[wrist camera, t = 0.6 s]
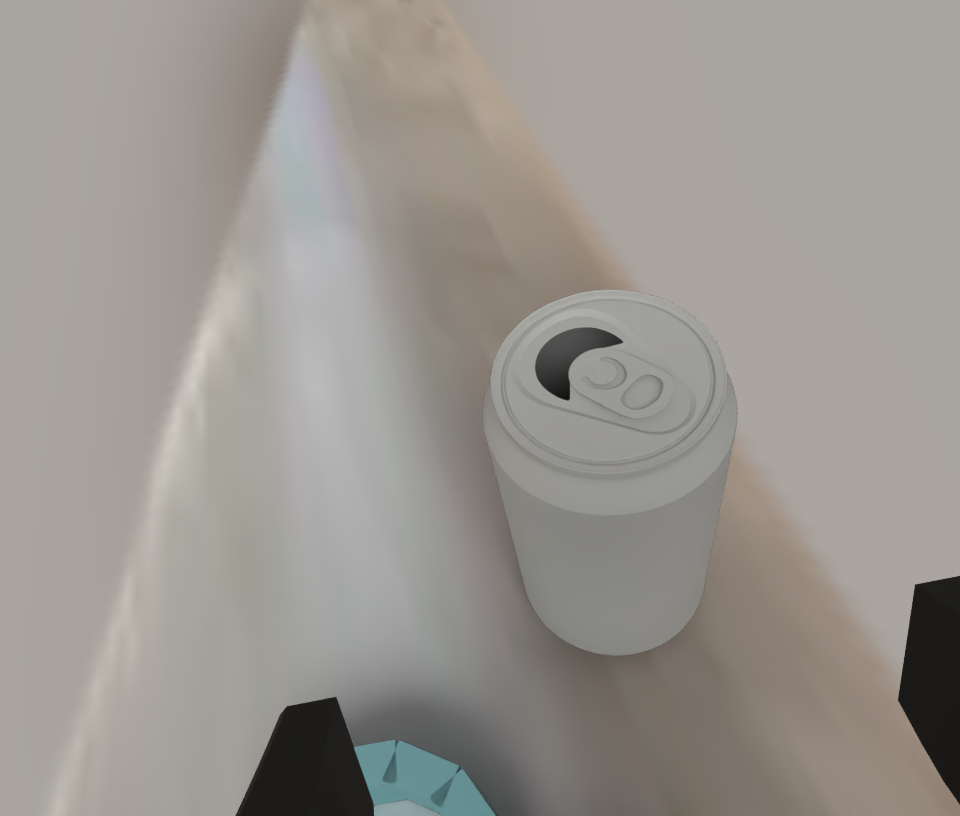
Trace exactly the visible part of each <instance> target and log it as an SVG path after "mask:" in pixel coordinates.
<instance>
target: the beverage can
mask: <svg viewBox="0 0 960 816" xmlns="http://www.w3.org/2000/svg"><path fill="white" fill-rule="evenodd" d="M483 425H484V431H485V435H486V439H487V443H488V447H489V451H490V455H491V458H492V462H493V466H494V470H495V474H496V478H497V482H498V485H499V489H500V493H501V497H502V501H503V505H504V509H505V513H506V516H507V520H508V524H509V528H510V532H511V536H512V540H513V543H514V547H515V551H516V555H517V559H518V563H519V567H520V571H521V574H522V578H523V582H524V586H525V590H526V593H527V596H528V599H529V601H530V603H531V605H532V607H533V609H534V611H535V612H536V614H537V615H538V617H539V618H540V619H541V620H542V622H543V623H544V624H545V625H546V626H547V627H548V628H549V629H550V630H551V631H552V632H553V633H554V634H555V635H557V636H558V637H560V638H561V639H563V640H564V641H566V642H568V643H569V644H571V645H573V646H575V647H578V648H580V649H583V650H585V651H589V652H592V653H597V654H602V655H617V656H620V655H631V654H637V653H641V652H644V651H647V650H650V649H653V648H655V647H657V646H660V645H661V644H663V643H665V642H667V641H668V640H670V639H671V638H672V637H674V636H675V635H676V634H678V633H679V632H680V631H681V630H682V629H683V628H684V627H685V625H686V624H687V623H688V622H689V621H690V619H691V618H692V616H693V614H694V613H695V611H696V609H697V607H698V605H699V603H700V600H701V597H702V594H703V590H704V585H705V580H706V575H707V570H708V565H709V560H710V555H711V550H712V545H713V540H714V535H715V531H716V526H717V521H718V516H719V511H720V506H721V501H722V496H723V491H724V486H725V481H726V476H727V471H728V466H729V461H730V456H731V451H732V446H733V441H734V437H735V432H736V425H737V400H736V395H735V391H734V387H733V384H732V382H731V379H730V377H729V375H728V373H727V371H726V366H725V362H724V358H723V355H722V353H721V350H720V348H719V346H718V344H717V342H716V341H715V339H714V337H713V336H712V335H711V333H710V332H709V331H708V330H707V329H706V327H705V326H704V325H703V324H702V323H701V322H700V321H699V320H697V319H696V318H695V317H694V316H693V315H691V314H690V313H689V312H687V311H686V310H684V309H682V308H680V307H679V306H677V305H675V304H673V303H671V302H669V301H667V300H664V299H662V298H659V297H656V296H653V295H649V294H645V293H640V292H635V291H627V290H595V291H588V292H582V293H577V294H574V295H570V296H567V297H564V298H562V299H559V300H556V301H553V302H551V303H549V304H547V305H545V306H543V307H541V308H539V309H538V310H536V311H534V312H533V313H531V314H530V315H528V316H527V317H526V318H525V319H523V320H522V321H521V322H520V323H519V324H518V325H517V326H516V327H515V328H514V329H513V330H512V331H511V332H510V334H509V335H508V336H507V337H506V339H505V340H504V342H503V343H502V345H501V347H500V348H499V350H498V352H497V355H496V357H495V360H494V363H493V367H492V373H491V380H490V382H489V385H488V388H487V391H486V394H485V399H484V406H483Z"/></svg>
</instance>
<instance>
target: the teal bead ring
mask: <svg viewBox="0 0 960 816" xmlns="http://www.w3.org/2000/svg"><path fill="white" fill-rule="evenodd" d="M354 749H355V752H356V755H357V758H358V761H359V763H360V766H361V769H362V772H363V775H364V778H365V780H366V783H367V786H368V789H369V792H370V795H371V798H372V800H373V804H374V805H378V804H384V803H390V802H396V801H401V800H407V799H409V800H411V801H413V802H415V803H417V804H420V805H422V806H424V807H426V808H428V809H431V810H433V811H435V812H437V813H439V814H441V815H442V816H497V815H496V814H495V812H494V811H493V809H492V808H491V807H490V805H489V804H488V802H487V801H486V799H485V798H484V797H483V795H482V794H481V792H480V791H479V789H478V788H477V786H476V785H475V784H474V783H473V781H472V780H471V779H470V778H469V776H468V775H467V774H466V772H465V771H464V770H463V769H461V768H460V766H459V765H456V764H454V763H452V762H449V761H447V760H445V759H442V758H440V757H438V756H435V755H433V754H431V753H428V752H426V751H424V750H421V749H419V748H417V747H414V746H412V745H410V744H407V743H405V742H403V741H400V740H399V742H397V741H396V740H389V741H384V742H378V743H372V744H367V745H361V746H355V747H354Z"/></svg>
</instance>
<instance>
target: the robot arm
mask: <svg viewBox="0 0 960 816" xmlns="http://www.w3.org/2000/svg"><path fill="white" fill-rule="evenodd" d="M898 701H899V703H900V705H901V706H902V708H903V710H904V712H905V714H906V716H907V717H908V719H909V721H910V723H911V725H912V727H913V729H914V730H915V732H916V734H917V736H918V738H919V740H920V741H921V743H922V745H923V747H924V748H925V750H926V752H927V754H928V755H929V757H930V759H931V760H932V762H933V764H934V766H935V767H936V769H937V771H938V773H939V774H940V776H941V778H942V779H943V781H944V783H945V784H946V785H947V787H948V788H949V790H950V791H951V793H952V794H953V795H954V797H955V798H956V800H957V801H958V803H959V804H960V576H958V577H952V578H947V579H942V580H937V581H931V582H926V583H921V584H916V585H915V589H914V596H913V603H912V609H911V616H910V623H909V630H908V636H907V643H906V650H905V657H904V663H903V670H902V677H901V683H900V690H899V697H898ZM236 816H374V804H373V800H372V798H371V795H370V792H369V789H368V786H367V783H366V780H365V778H364V775H363V772H362V769H361V766H360V763H359V761H358V758H357V755H356V752H355V749H354V746H353V743H352V741H351V738H350V735H349V732H348V729H347V726H346V723H345V721H344V718H343V715H342V712H341V709H340V706H339V703H338V701H337V698H336V697H333V698H328V699H323V700H318V701H313V702H308V703H302V704H297V705H292V706H287V707H286V708H285V709H284V711H283V712H282V713H281V714H280V716H279V719H278V721H277V723H276V726H275V728H274V731H273V733H272V735H271V738H270V740H269V742H268V745H267V747H266V749H265V752H264V754H263V756H262V759H261V761H260V763H259V766H258V768H257V770H256V772H255V775H254V777H253V779H252V781H251V783H250V786H249V788H248V790H247V792H246V794H245V797H244V799H243V801H242V803H241V805H240V807H239V809H238V812H237V814H236Z"/></svg>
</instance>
